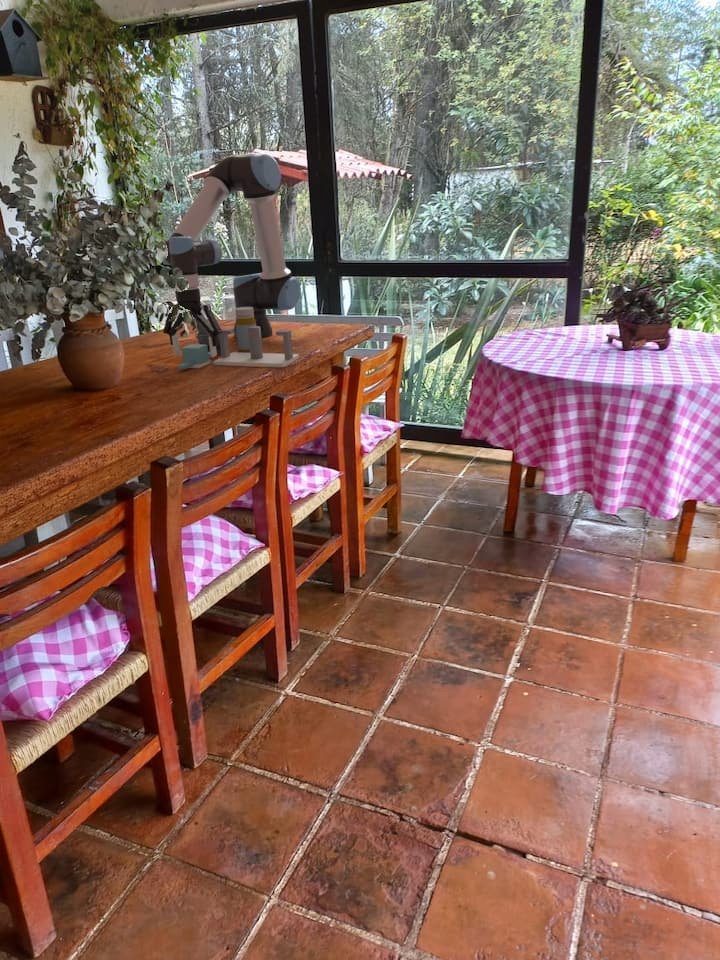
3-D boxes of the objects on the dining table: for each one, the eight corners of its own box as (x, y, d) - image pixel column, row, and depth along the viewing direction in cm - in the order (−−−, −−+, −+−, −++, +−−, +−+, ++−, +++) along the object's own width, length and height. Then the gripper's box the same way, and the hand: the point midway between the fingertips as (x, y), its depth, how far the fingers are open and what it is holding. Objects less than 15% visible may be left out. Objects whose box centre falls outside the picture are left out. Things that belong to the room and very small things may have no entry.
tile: (194, 362, 232) (194, 359, 232) (210, 362, 231) (210, 359, 230) (182, 367, 225) (182, 364, 225) (198, 368, 224) (198, 365, 223)
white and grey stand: (233, 355, 240) (229, 322, 235) (299, 357, 233) (297, 324, 229) (214, 365, 227) (210, 330, 223) (283, 367, 221) (280, 332, 216)
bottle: (254, 353, 242) (250, 309, 236) (235, 353, 243) (231, 309, 238) (261, 349, 248) (257, 306, 242) (242, 349, 250) (238, 306, 244)
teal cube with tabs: (173, 368, 220) (170, 352, 218) (202, 355, 237) (200, 340, 235) (190, 369, 218) (187, 352, 216) (218, 356, 235) (216, 340, 233)
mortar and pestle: (231, 349, 250) (227, 315, 245) (221, 355, 241) (217, 320, 237) (201, 349, 252) (197, 315, 247) (191, 354, 244) (186, 320, 239)
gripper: (146, 289, 219) (156, 357, 227) (216, 290, 212) (224, 359, 220) (159, 286, 226) (168, 352, 234) (228, 286, 219) (235, 354, 227)
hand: (195, 355), depth 227 cm, fingers open, 13 cm apart
